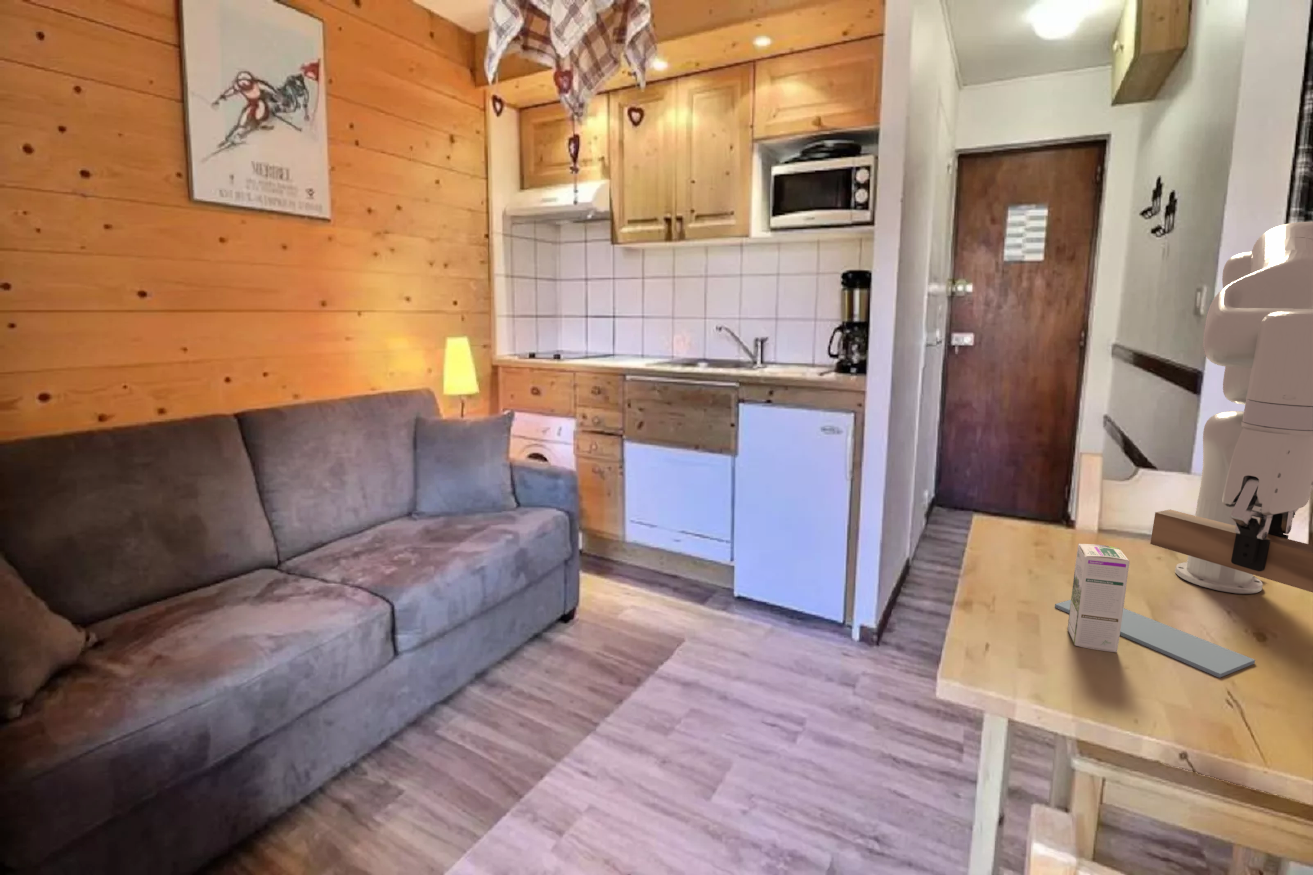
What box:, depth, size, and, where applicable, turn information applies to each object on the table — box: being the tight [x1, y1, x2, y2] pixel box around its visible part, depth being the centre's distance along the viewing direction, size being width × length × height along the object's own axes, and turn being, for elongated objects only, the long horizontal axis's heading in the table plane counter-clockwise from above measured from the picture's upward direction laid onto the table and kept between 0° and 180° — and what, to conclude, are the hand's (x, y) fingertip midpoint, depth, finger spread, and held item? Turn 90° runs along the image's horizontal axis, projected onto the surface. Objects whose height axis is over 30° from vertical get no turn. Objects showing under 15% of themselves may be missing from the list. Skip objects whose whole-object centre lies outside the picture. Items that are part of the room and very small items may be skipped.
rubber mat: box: [1054, 599, 1256, 679], centre depth 107 cm, size 9×24×1 cm, turn 25°
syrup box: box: [1067, 543, 1130, 653], centre depth 103 cm, size 6×6×14 cm
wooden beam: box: [1149, 509, 1313, 593], centre depth 84 cm, size 3×22×4 cm, turn 25°
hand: (1256, 563), depth 84 cm, fingers closed on wooden beam, 3 cm apart
